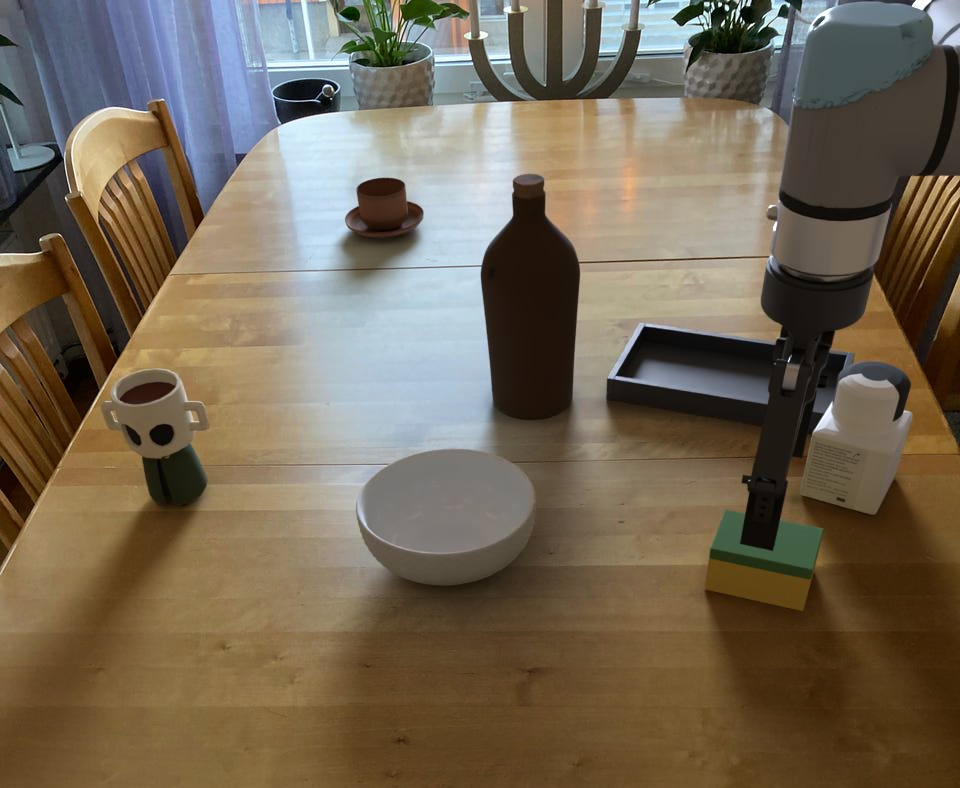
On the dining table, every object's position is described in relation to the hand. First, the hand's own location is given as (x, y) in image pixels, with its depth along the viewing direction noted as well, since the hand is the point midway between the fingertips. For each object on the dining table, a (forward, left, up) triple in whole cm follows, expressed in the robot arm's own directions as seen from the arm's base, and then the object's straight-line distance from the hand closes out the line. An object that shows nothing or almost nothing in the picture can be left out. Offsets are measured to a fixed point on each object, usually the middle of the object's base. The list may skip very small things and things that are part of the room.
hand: (772, 497), depth 87 cm
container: (-6, -17, -10) cm, 20 cm away
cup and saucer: (+69, -61, -10) cm, 93 cm away
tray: (+10, -32, -10) cm, 35 cm away
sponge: (0, 0, -10) cm, 10 cm away
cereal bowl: (+29, +6, -10) cm, 31 cm away
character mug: (+61, +6, -10) cm, 62 cm away
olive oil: (+31, -23, -10) cm, 40 cm away
